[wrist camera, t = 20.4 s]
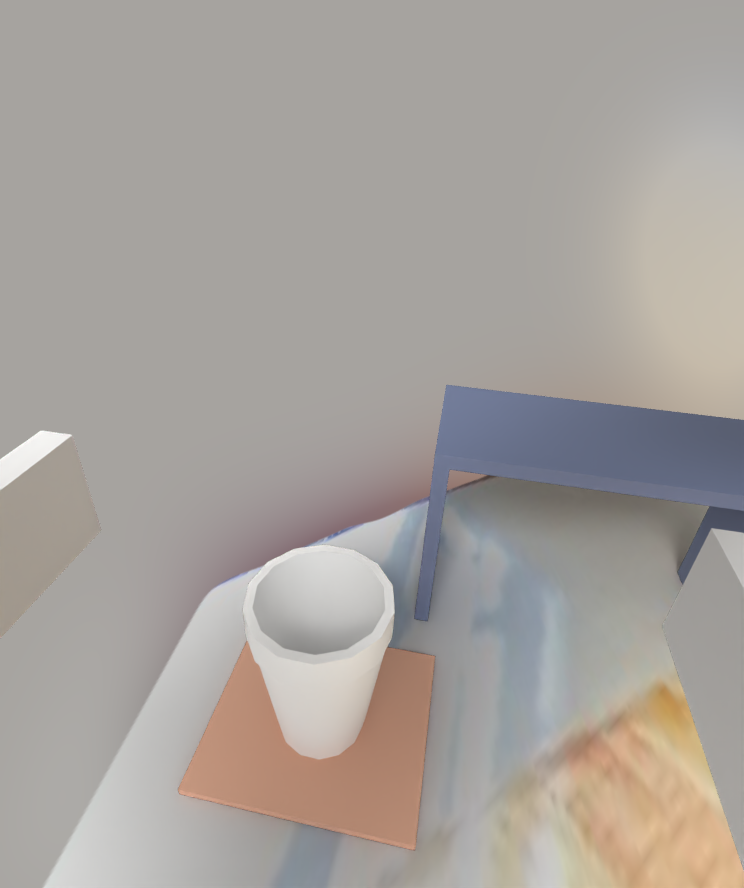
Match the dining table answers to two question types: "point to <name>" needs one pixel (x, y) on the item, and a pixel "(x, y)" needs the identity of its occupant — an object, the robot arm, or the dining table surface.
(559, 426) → the rectangular arch
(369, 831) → the mat
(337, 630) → the foam cup
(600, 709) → the dining table surface
